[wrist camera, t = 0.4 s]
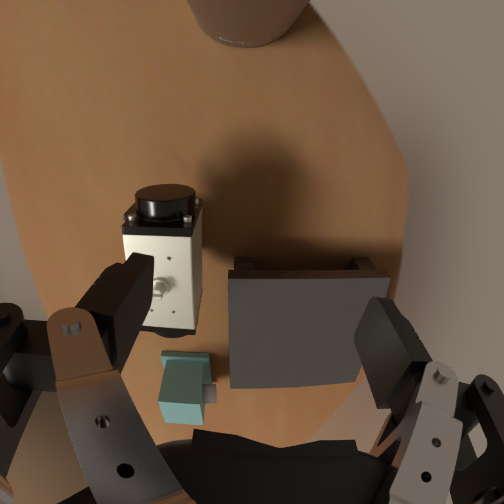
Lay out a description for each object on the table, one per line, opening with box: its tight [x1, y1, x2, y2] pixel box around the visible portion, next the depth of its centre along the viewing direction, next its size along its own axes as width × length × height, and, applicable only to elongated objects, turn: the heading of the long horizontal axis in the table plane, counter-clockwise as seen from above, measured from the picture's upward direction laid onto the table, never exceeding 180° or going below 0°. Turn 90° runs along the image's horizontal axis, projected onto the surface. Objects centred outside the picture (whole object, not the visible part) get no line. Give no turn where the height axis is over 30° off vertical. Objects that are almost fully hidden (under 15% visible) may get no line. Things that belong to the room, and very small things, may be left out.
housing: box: [158, 351, 216, 425], centre depth 36 cm, size 6×7×8 cm
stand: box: [228, 257, 391, 389], centre depth 34 cm, size 16×16×5 cm
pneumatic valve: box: [122, 184, 202, 338], centre depth 25 cm, size 6×12×12 cm, turn 176°
